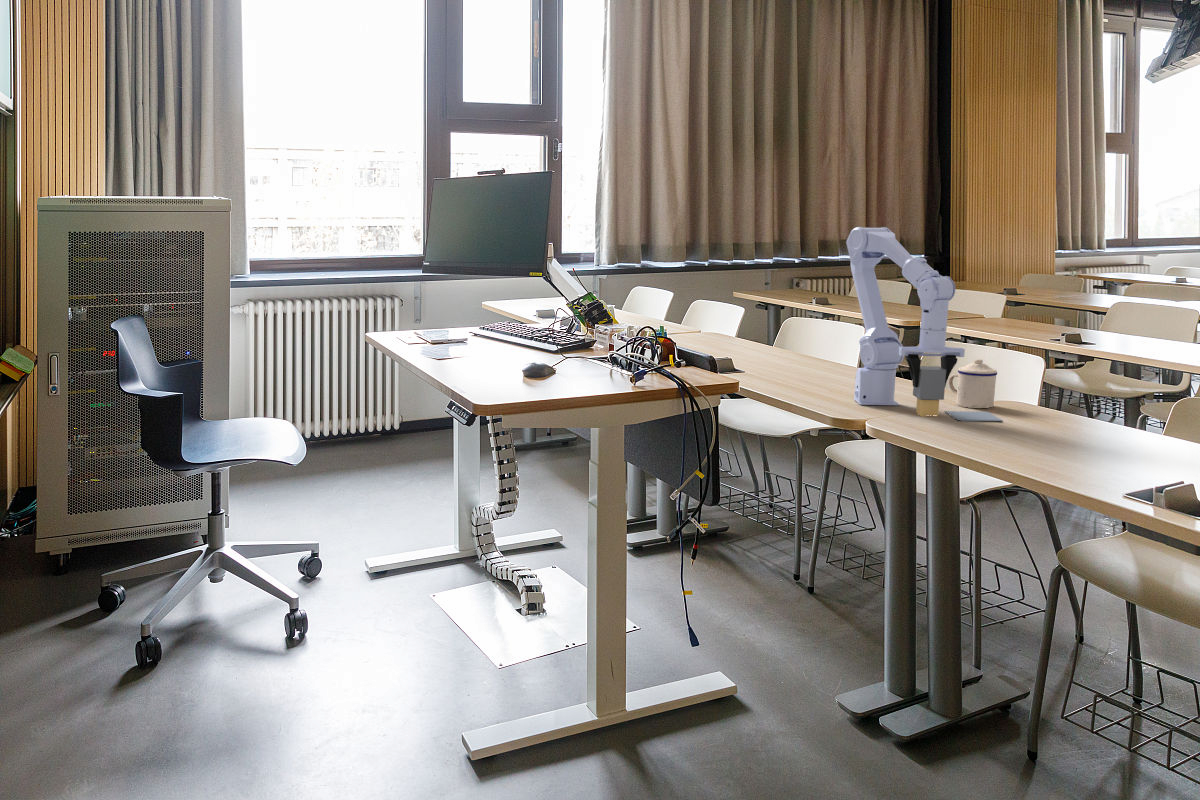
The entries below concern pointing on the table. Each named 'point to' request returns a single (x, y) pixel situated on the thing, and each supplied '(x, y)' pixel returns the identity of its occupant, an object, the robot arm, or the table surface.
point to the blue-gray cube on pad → (930, 383)
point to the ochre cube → (927, 407)
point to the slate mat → (973, 416)
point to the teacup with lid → (975, 385)
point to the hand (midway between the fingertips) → (928, 386)
